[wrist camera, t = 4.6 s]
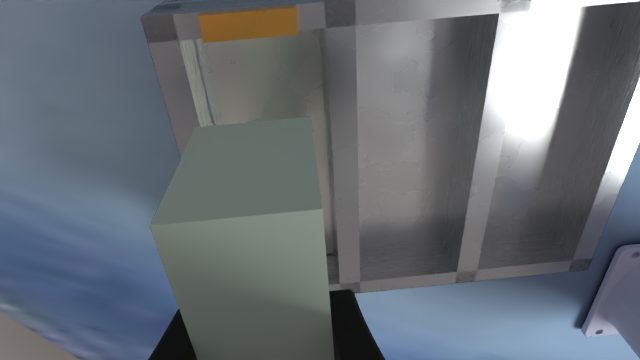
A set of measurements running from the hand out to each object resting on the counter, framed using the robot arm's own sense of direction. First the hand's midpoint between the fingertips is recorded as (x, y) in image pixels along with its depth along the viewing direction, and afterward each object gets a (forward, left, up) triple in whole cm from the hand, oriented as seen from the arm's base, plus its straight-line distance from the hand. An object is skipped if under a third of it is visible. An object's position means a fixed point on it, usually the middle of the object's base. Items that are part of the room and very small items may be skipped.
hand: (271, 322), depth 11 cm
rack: (-6, 0, -9) cm, 11 cm away
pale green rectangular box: (0, +1, -3) cm, 3 cm away
